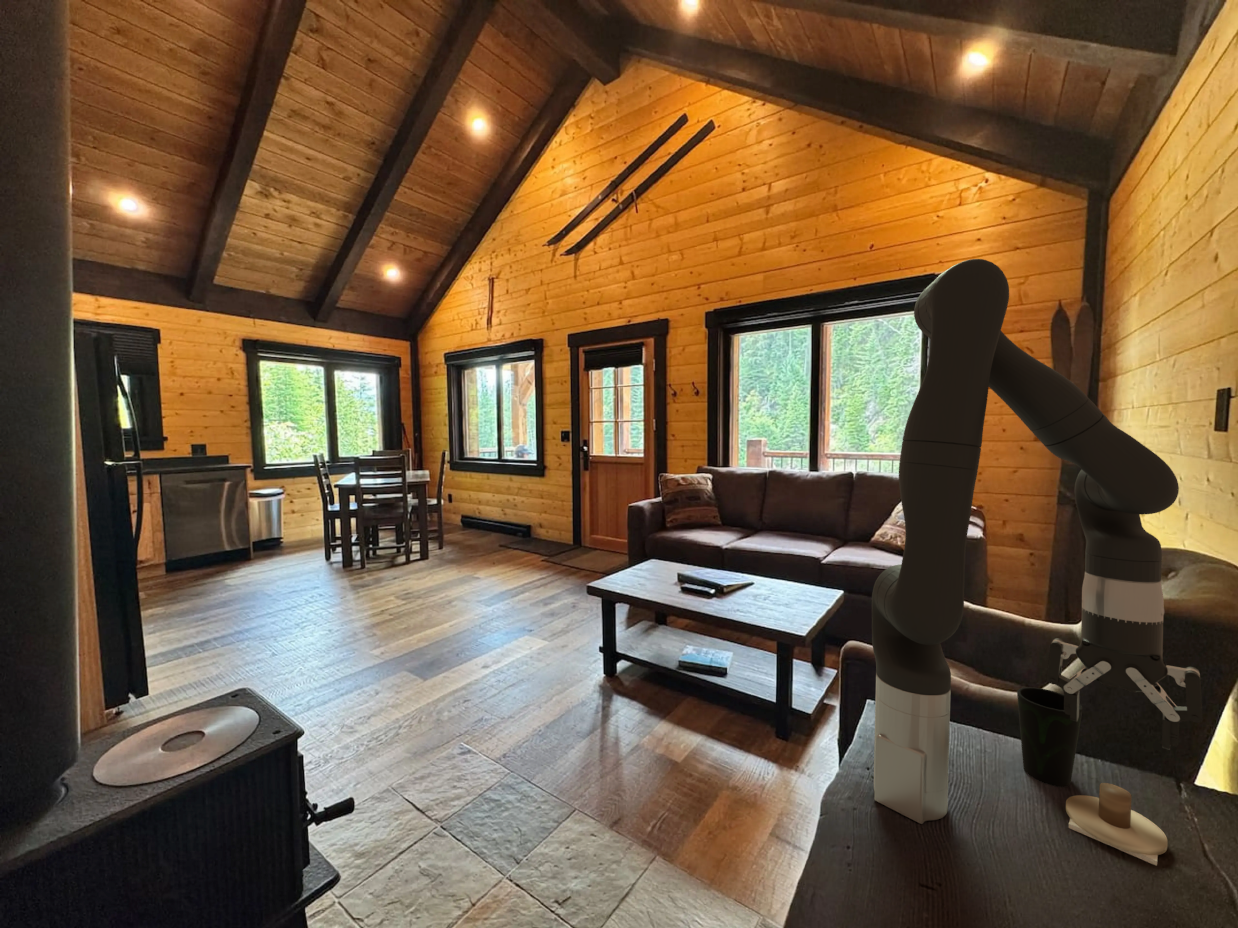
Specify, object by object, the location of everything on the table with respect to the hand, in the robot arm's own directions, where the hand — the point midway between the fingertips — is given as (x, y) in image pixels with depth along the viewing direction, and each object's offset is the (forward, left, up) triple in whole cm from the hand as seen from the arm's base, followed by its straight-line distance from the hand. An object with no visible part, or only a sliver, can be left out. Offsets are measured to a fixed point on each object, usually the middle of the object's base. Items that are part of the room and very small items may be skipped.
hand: (1118, 731), depth 65 cm
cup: (+8, +8, -14) cm, 18 cm away
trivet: (0, 0, -13) cm, 13 cm away
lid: (0, 0, -13) cm, 13 cm away
